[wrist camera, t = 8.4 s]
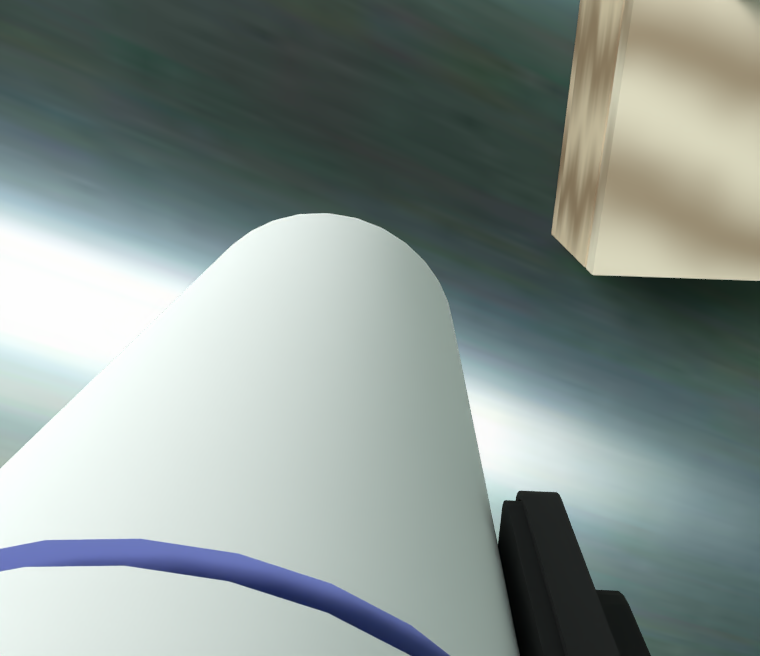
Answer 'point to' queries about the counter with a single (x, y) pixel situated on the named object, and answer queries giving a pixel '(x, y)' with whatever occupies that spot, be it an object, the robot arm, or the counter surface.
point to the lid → (682, 144)
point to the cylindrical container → (265, 472)
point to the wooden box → (586, 123)
